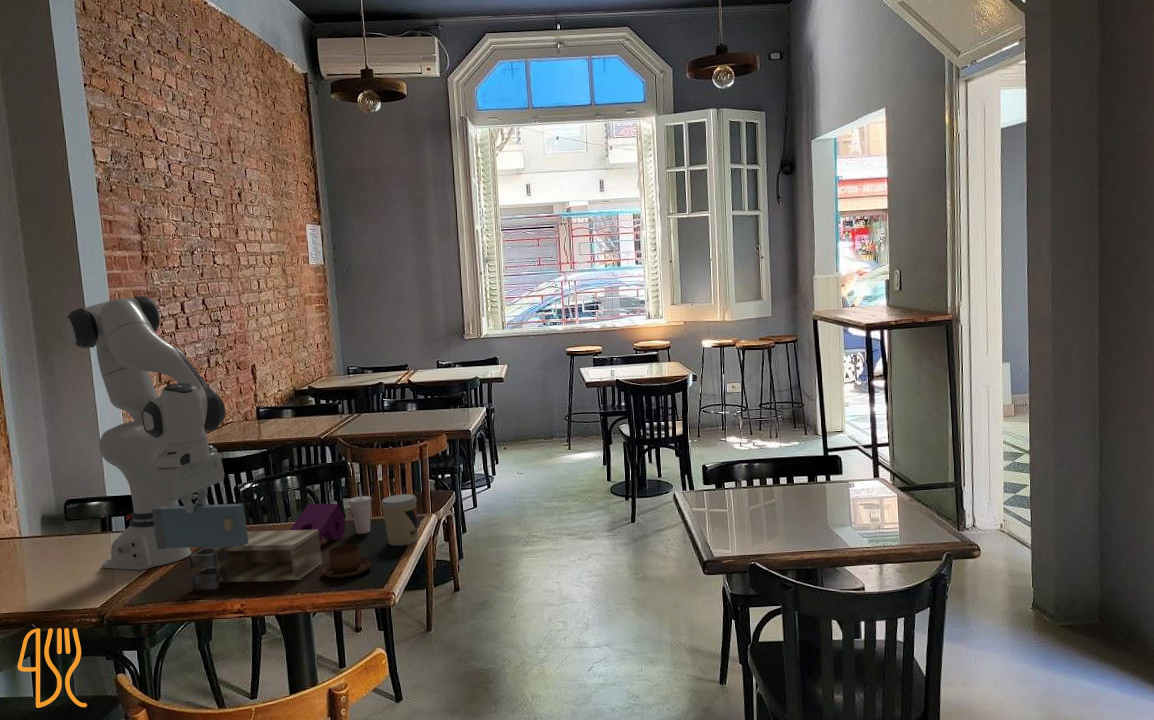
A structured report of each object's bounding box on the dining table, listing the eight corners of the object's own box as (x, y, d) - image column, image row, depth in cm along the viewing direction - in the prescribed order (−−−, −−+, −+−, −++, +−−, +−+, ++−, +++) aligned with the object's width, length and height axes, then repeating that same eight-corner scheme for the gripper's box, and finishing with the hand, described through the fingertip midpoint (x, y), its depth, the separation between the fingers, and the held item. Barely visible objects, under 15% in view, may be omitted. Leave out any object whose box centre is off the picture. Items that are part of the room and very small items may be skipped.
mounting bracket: (318, 574, 230) (348, 526, 245) (307, 550, 225) (338, 503, 240) (287, 573, 232) (318, 526, 248) (275, 550, 228) (308, 503, 243)
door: (151, 550, 202) (145, 511, 201) (163, 544, 206) (157, 506, 205) (239, 547, 198) (234, 507, 197) (249, 542, 202) (244, 503, 201)
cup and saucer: (311, 580, 207) (308, 555, 206) (342, 563, 218) (339, 540, 217) (352, 583, 202) (349, 558, 201) (381, 566, 213) (379, 542, 213)
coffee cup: (416, 545, 228) (412, 501, 227) (382, 547, 228) (377, 504, 227) (423, 534, 237) (419, 492, 236) (390, 537, 237) (385, 495, 236)
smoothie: (363, 536, 241) (357, 487, 239) (347, 534, 244) (341, 486, 243) (379, 529, 246) (374, 481, 245) (363, 527, 249) (358, 480, 248)
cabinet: (193, 589, 207) (188, 553, 206) (233, 565, 223) (229, 532, 222) (288, 588, 202) (283, 551, 201) (322, 563, 218) (318, 529, 218)
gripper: (204, 444, 211) (211, 498, 212) (147, 463, 191) (155, 523, 192) (227, 443, 210) (234, 498, 211) (172, 461, 190) (180, 522, 191)
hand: (196, 510), depth 202 cm, fingers closed on door, 2 cm apart
